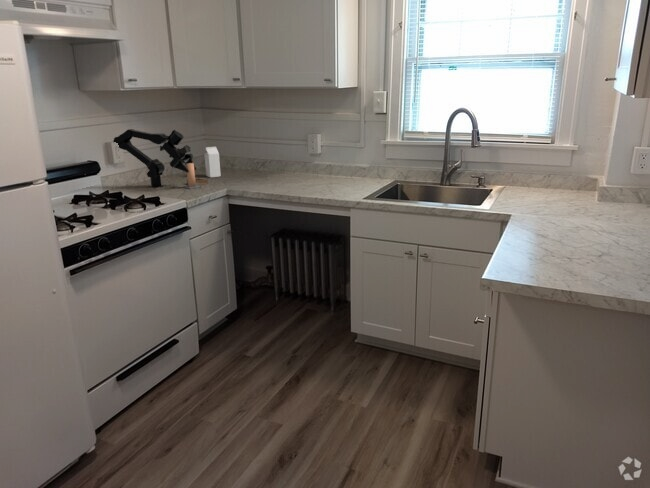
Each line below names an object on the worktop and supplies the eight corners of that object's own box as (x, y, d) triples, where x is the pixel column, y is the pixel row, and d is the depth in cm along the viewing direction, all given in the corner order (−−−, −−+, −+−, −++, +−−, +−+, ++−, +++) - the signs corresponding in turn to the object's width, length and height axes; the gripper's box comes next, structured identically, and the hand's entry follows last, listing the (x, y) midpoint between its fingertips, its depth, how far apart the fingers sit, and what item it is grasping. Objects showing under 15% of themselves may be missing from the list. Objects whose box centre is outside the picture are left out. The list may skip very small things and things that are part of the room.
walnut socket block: (187, 183, 300) (186, 179, 299) (200, 181, 306) (199, 177, 305) (195, 185, 294) (194, 181, 293) (208, 183, 300) (207, 179, 299)
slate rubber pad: (183, 187, 289) (183, 186, 289) (194, 185, 294) (194, 184, 293) (190, 189, 284) (189, 187, 284) (200, 187, 289) (200, 186, 289)
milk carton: (220, 176, 323) (218, 147, 318) (210, 177, 319) (207, 147, 314) (216, 175, 329) (214, 146, 323) (206, 176, 325) (203, 146, 319)
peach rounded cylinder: (188, 185, 290) (185, 163, 286) (195, 185, 291) (193, 162, 287) (188, 187, 286) (185, 164, 282) (196, 186, 287) (193, 164, 283)
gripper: (172, 142, 273) (193, 163, 274) (188, 139, 290) (207, 158, 291) (161, 157, 277) (181, 177, 278) (177, 152, 294) (196, 171, 295)
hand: (192, 170), depth 286 cm, fingers open, 9 cm apart
